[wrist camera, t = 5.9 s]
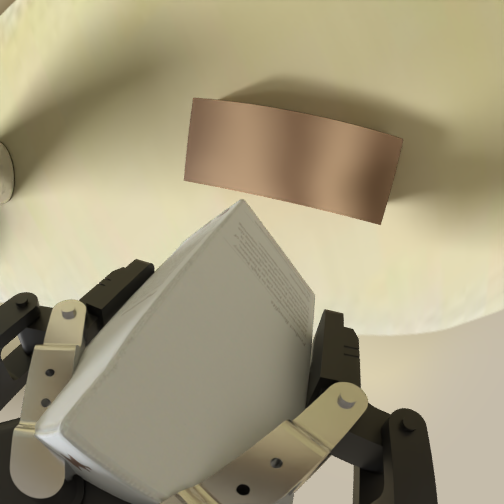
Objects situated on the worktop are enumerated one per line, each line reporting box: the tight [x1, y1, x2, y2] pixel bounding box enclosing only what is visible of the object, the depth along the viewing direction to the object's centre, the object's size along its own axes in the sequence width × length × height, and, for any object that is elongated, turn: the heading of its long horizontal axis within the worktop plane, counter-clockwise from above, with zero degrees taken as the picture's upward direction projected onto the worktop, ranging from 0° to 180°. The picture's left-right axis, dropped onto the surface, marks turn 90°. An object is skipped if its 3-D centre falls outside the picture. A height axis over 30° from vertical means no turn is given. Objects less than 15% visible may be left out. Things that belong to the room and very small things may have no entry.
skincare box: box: [33, 199, 315, 504], centre depth 10 cm, size 6×4×12 cm
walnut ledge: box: [184, 98, 403, 225], centre depth 22 cm, size 14×6×5 cm, turn 81°
